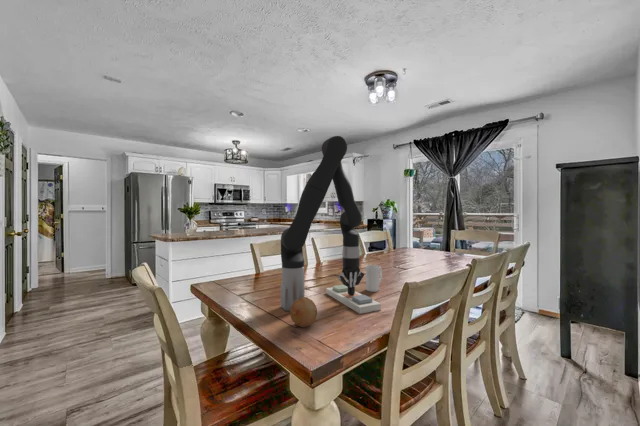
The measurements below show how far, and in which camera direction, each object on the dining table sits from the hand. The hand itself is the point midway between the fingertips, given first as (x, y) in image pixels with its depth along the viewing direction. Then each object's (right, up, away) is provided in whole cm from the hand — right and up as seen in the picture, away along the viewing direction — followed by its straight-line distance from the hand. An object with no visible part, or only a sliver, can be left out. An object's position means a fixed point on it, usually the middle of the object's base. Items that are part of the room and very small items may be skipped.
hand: (351, 294), depth 131 cm
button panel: (0, -3, 0) cm, 3 cm away
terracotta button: (0, -2, 0) cm, 2 cm away
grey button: (+4, -1, -8) cm, 9 cm away
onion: (-20, -4, -27) cm, 33 cm away
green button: (-4, -1, +8) cm, 9 cm away
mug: (+14, -2, +18) cm, 23 cm away
